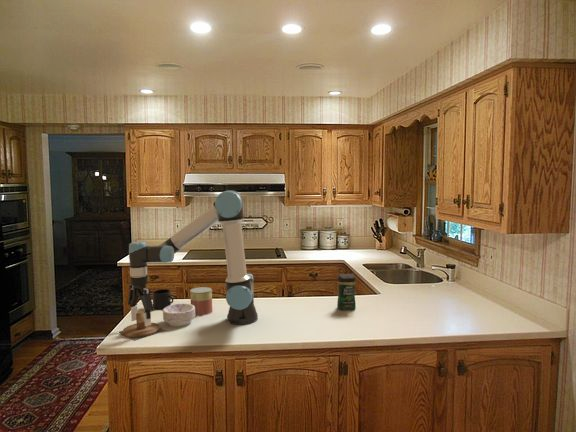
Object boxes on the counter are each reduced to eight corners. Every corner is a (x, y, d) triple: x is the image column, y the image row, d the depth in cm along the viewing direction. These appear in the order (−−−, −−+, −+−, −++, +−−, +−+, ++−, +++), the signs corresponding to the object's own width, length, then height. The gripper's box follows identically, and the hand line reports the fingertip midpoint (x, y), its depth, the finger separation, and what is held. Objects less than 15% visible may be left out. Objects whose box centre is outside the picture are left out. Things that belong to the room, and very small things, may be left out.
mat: (166, 331, 193) (166, 330, 193) (134, 341, 181) (134, 340, 181) (147, 323, 203) (147, 323, 203) (116, 333, 191) (116, 332, 191)
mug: (168, 311, 223) (168, 294, 223) (149, 309, 227) (148, 293, 226) (178, 305, 232) (177, 290, 232) (159, 304, 236) (158, 288, 235)
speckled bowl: (179, 331, 193) (178, 314, 192) (156, 325, 201) (156, 309, 200) (202, 321, 206) (201, 305, 205) (180, 316, 214) (179, 301, 213)
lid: (166, 330, 193) (165, 312, 192) (134, 340, 181) (133, 321, 180) (147, 323, 203) (147, 306, 203) (116, 332, 191) (115, 314, 191)
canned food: (209, 307, 228) (208, 286, 227) (215, 313, 218) (214, 291, 217) (188, 310, 223) (188, 288, 222) (193, 316, 213) (192, 293, 212)
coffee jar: (339, 311, 219) (339, 276, 217) (336, 306, 227) (335, 272, 225) (357, 310, 219) (357, 275, 218) (353, 305, 227) (353, 272, 226)
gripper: (160, 277, 185) (162, 325, 187) (133, 271, 200) (135, 315, 202) (145, 281, 180) (147, 330, 181) (118, 273, 195) (120, 319, 197)
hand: (141, 322), depth 192 cm, fingers open, 11 cm apart
